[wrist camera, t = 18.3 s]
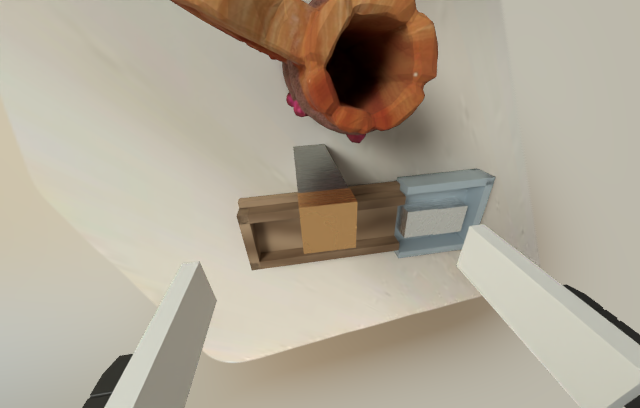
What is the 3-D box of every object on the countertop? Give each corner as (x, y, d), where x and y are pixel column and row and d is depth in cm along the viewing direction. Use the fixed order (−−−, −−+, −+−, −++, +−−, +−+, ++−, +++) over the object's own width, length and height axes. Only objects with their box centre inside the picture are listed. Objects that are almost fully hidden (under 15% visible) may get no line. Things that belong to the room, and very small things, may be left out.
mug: (386, 51, 23) (521, 16, 10) (348, 129, 26) (411, 184, 13) (234, -43, 18) (104, -340, 5) (211, 67, 21) (96, 52, 8)
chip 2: (427, 200, 31) (438, 209, 29) (455, 196, 32) (468, 205, 29) (422, 224, 33) (432, 234, 31) (449, 221, 34) (460, 231, 31)
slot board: (239, 198, 28) (234, 210, 26) (397, 181, 30) (406, 190, 27) (255, 259, 33) (253, 274, 31) (390, 242, 35) (398, 254, 32)
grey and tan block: (292, 146, 26) (298, 208, 14) (324, 143, 26) (357, 201, 14) (296, 176, 28) (303, 253, 16) (325, 173, 28) (355, 247, 16)
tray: (397, 177, 30) (408, 187, 27) (477, 168, 30) (495, 177, 28) (389, 244, 35) (398, 258, 32) (458, 235, 36) (471, 247, 33)
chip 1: (399, 202, 31) (408, 212, 29) (427, 199, 31) (438, 208, 29) (396, 227, 33) (404, 238, 31) (423, 223, 33) (432, 234, 31)
